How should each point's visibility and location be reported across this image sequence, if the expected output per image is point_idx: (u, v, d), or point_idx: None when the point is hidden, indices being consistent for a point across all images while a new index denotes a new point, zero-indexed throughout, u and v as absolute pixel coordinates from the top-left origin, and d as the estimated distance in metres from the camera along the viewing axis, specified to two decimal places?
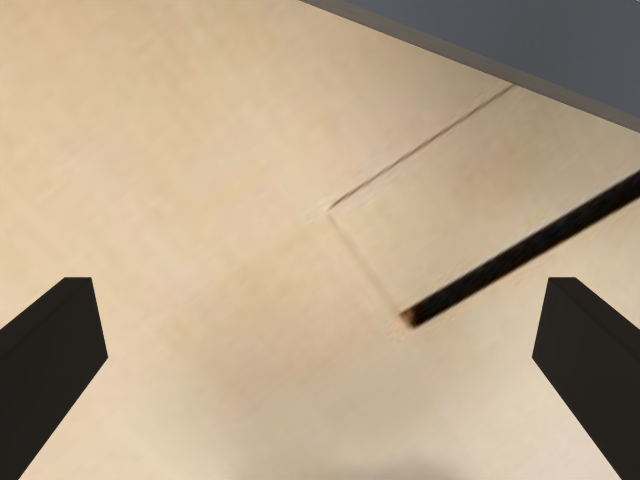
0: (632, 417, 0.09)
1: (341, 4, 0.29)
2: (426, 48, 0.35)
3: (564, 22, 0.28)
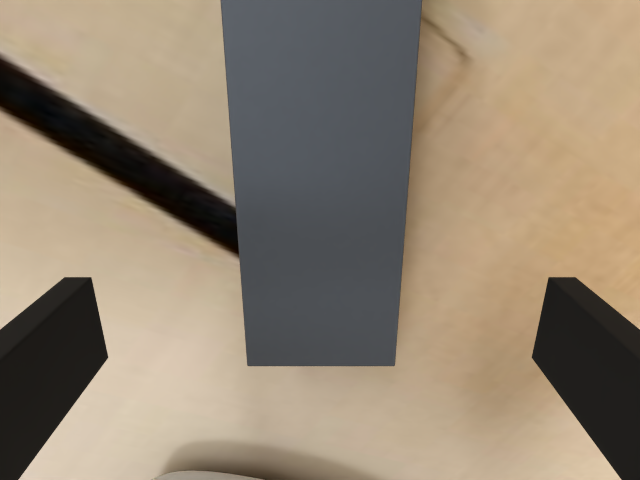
0: (632, 417, 0.09)
1: None
2: None
3: None
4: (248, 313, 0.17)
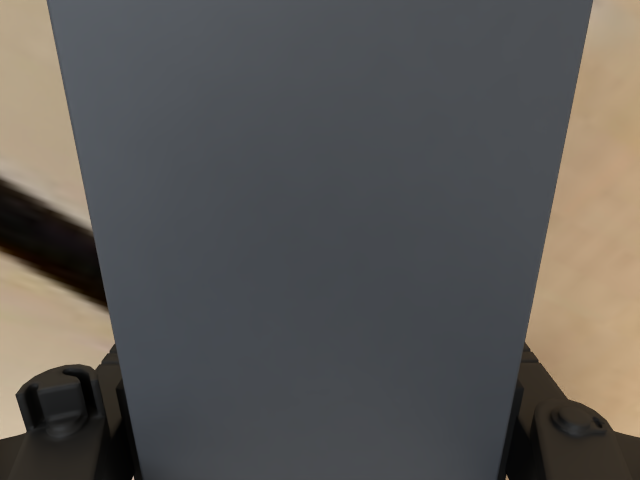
0: None
1: None
2: None
3: None
4: None
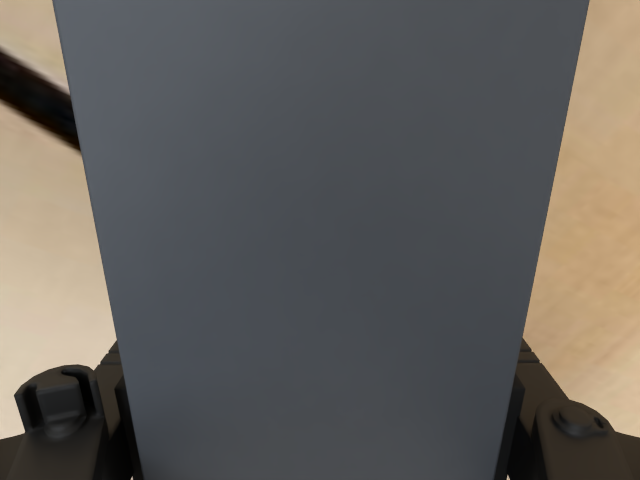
0: None
1: None
2: None
3: None
4: None
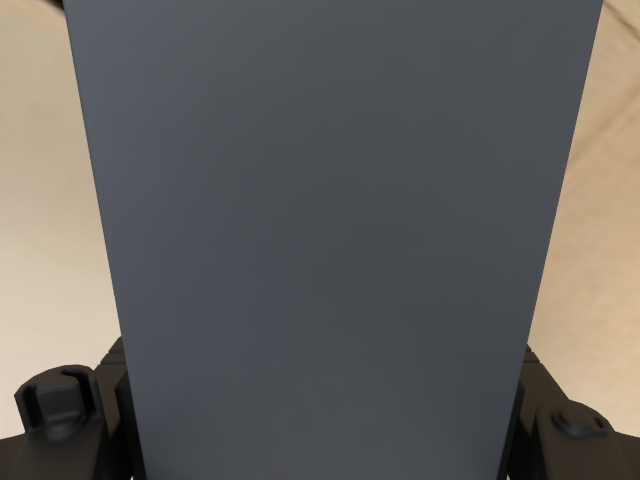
0: None
1: None
2: None
3: None
4: None
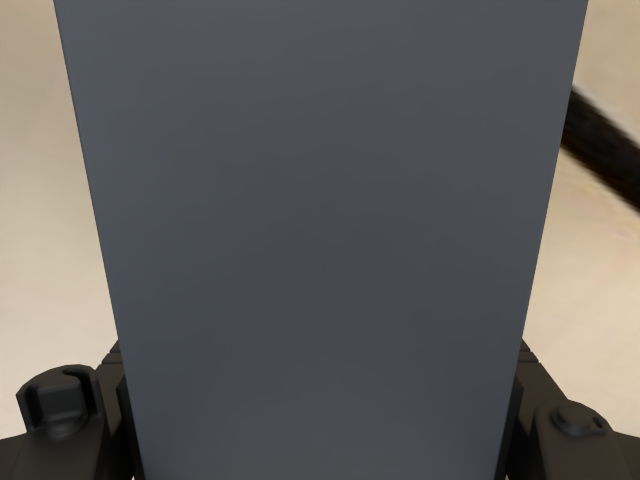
0: None
1: None
2: None
3: None
4: None
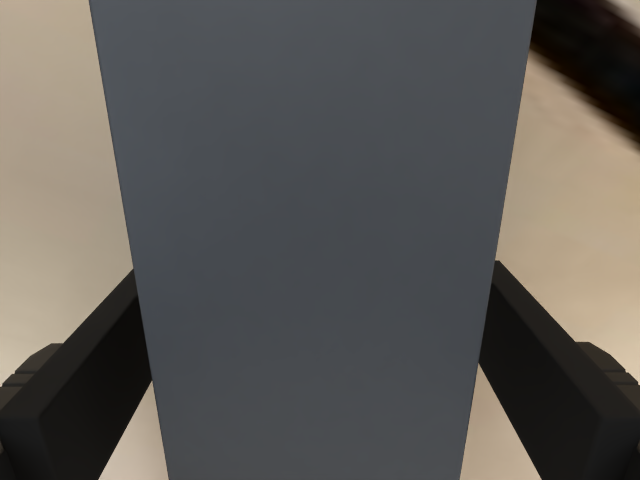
0: (524, 379, 0.10)
1: None
2: None
3: None
4: None
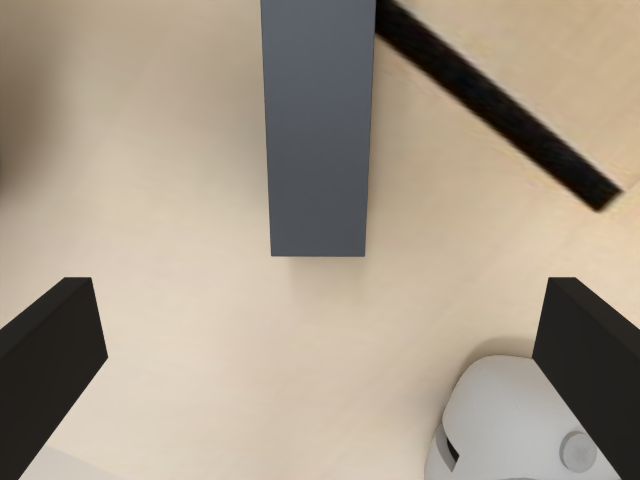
0: (631, 417, 0.09)
1: None
2: None
3: None
4: (272, 220, 0.27)
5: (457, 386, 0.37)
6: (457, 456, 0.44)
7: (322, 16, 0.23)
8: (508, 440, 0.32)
